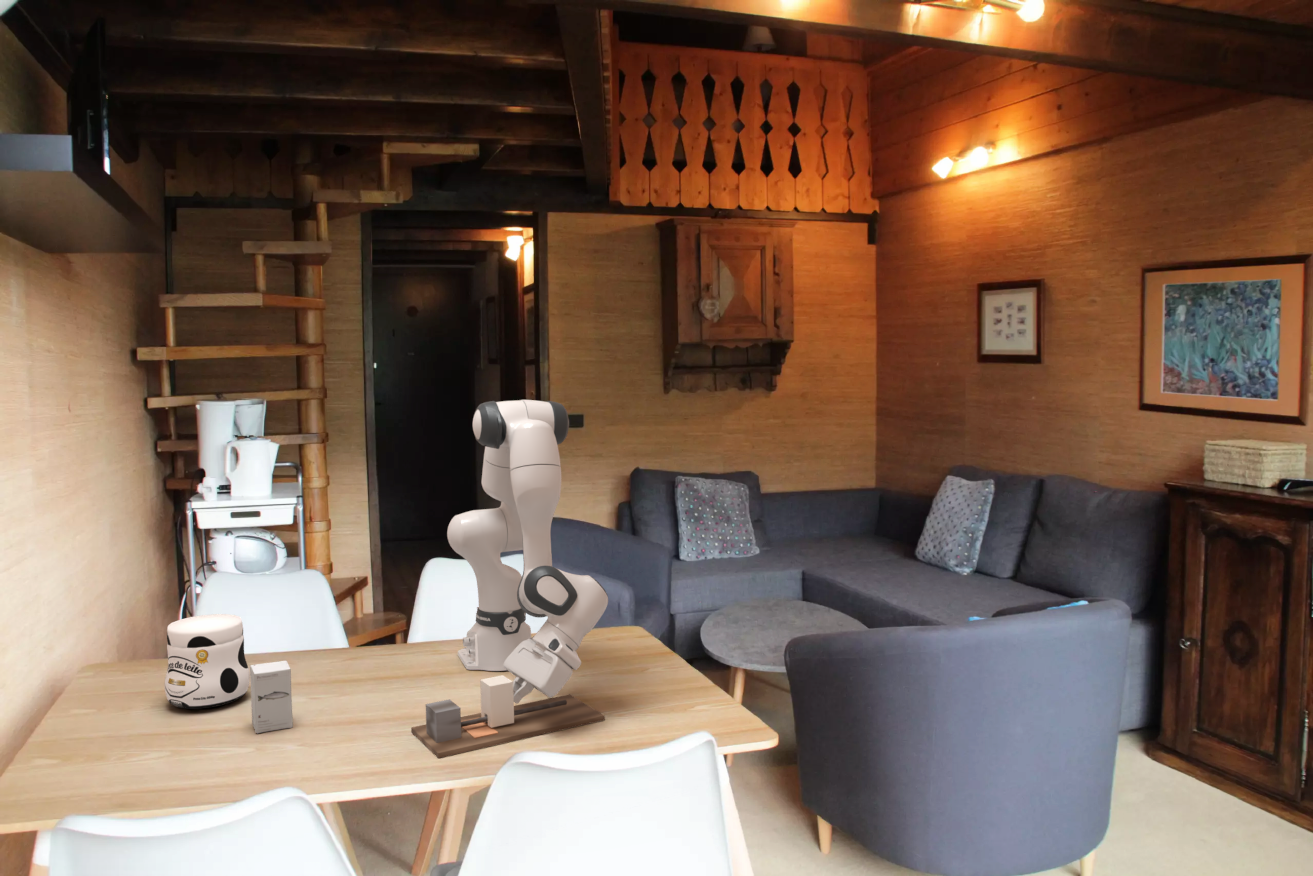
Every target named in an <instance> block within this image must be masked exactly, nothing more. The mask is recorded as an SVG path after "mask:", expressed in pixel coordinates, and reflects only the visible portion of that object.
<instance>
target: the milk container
mask: <svg viewBox="0 0 1313 876" xmlns="http://www.w3.org/2000/svg"><path fill="white" fill-rule="evenodd" d="M166 641H167V643H166V644H167V645H166V650H167V670H166V674H165V677H164V692H165V696H166V699H167V701H168V703H169V704H170V705H173V706H174V707H176V708H179V709H185V710H187V709H188V710H190V709H192V710H193V709H195V710H201V709H208V708H209V709H210V708H211V709H212V708H215V707H221V706H223V705H227V704H230V703H232V702H233V703H234V702H235V701H237V700H239V699H240V698H242V697H244V696H245V694H246V693H247V692H248V690H249V687H250V667H249V666H248V665H249V664H248V663H247V659H246V656H245V637H244V626H243V621H242V617H241V616H238V615H235V614H227V613H218V614H217V613H216V614H213V613H212V614H202V615H197V616H190V617H189V616H188V617H186V618H182V619H178V620H176V621H173V622H171V623H170V624H168V625H167V629H166Z"/></svg>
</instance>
